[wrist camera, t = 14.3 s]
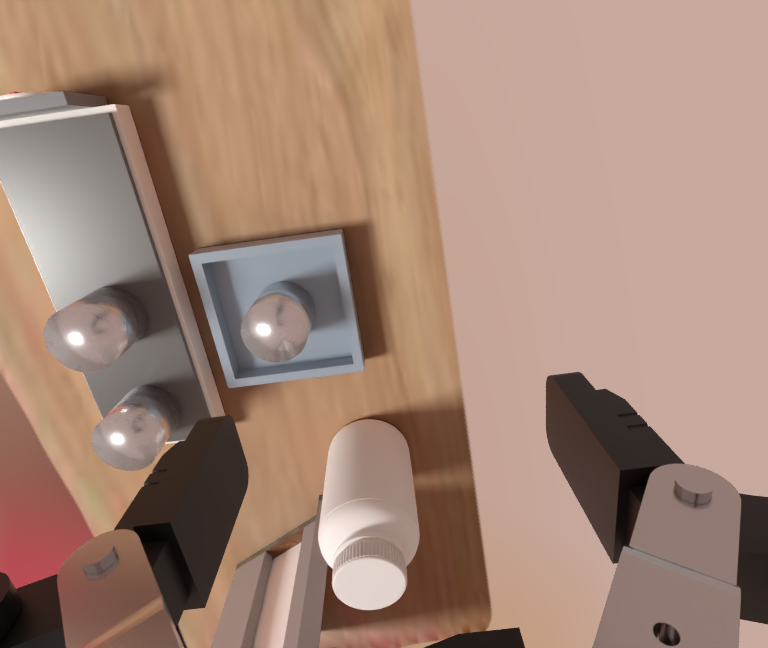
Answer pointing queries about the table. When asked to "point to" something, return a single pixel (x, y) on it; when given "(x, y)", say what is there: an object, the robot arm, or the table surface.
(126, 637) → the robot arm
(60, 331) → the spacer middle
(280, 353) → the cylinder
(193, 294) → the table surface
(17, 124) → the scale
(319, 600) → the cabinet
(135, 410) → the cylinder
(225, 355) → the tray
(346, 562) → the pill bottle
